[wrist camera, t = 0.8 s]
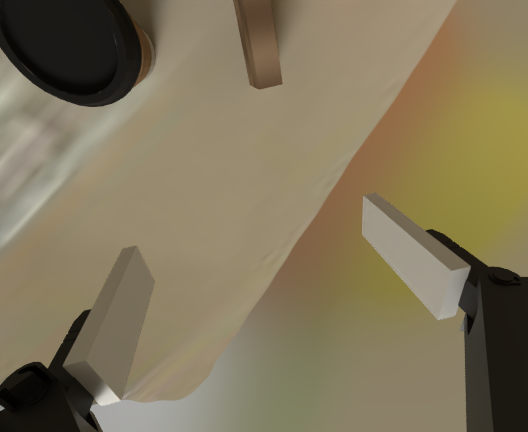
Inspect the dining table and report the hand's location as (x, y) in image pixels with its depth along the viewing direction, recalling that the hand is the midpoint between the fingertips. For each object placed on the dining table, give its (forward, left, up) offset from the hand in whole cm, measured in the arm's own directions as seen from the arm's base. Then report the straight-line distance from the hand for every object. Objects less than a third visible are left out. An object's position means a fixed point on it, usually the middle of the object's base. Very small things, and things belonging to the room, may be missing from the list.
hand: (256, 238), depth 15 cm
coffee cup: (-12, -9, -24) cm, 29 cm away
